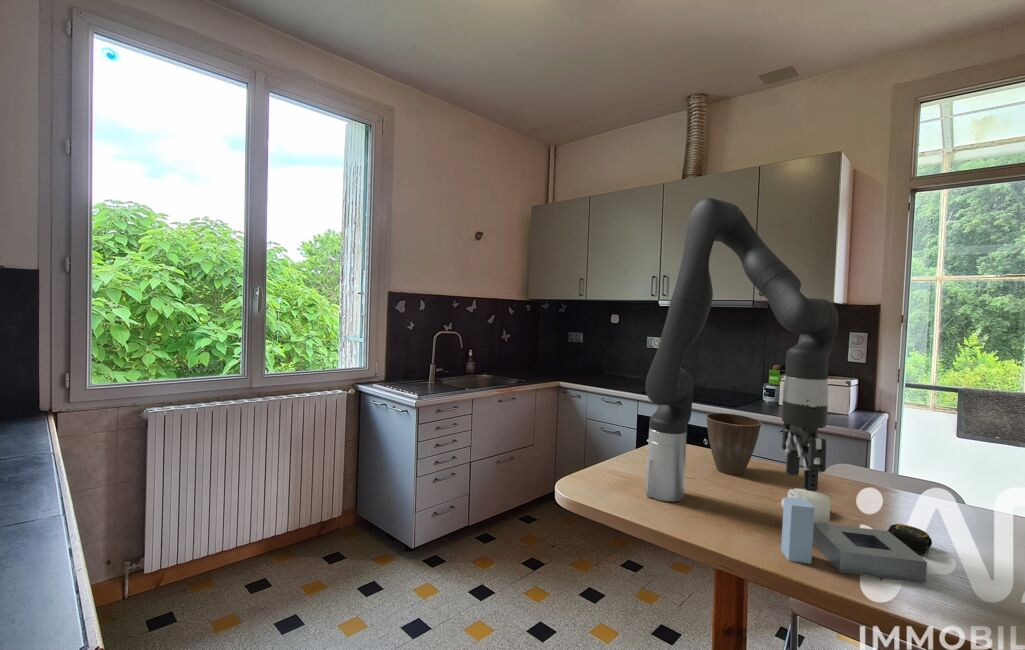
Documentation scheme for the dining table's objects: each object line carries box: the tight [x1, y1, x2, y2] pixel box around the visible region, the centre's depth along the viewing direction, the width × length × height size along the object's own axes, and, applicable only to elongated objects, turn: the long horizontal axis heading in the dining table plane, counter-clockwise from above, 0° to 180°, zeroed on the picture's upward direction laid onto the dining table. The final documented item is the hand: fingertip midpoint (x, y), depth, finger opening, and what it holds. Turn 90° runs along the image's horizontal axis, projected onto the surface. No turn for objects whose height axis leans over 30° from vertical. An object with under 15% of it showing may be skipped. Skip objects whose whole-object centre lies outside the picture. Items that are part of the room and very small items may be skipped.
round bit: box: [798, 491, 832, 524], centre depth 104 cm, size 6×6×8 cm
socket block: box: [812, 523, 928, 584], centre depth 92 cm, size 14×12×4 cm
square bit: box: [780, 496, 815, 565], centre depth 92 cm, size 4×4×11 cm
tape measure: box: [886, 523, 933, 556], centre depth 98 cm, size 7×7×4 cm
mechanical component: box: [780, 487, 807, 509], centre depth 115 cm, size 10×4×10 cm
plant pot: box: [706, 412, 762, 476], centre depth 141 cm, size 15×15×16 cm
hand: (800, 482), depth 92 cm, fingers open, 8 cm apart
